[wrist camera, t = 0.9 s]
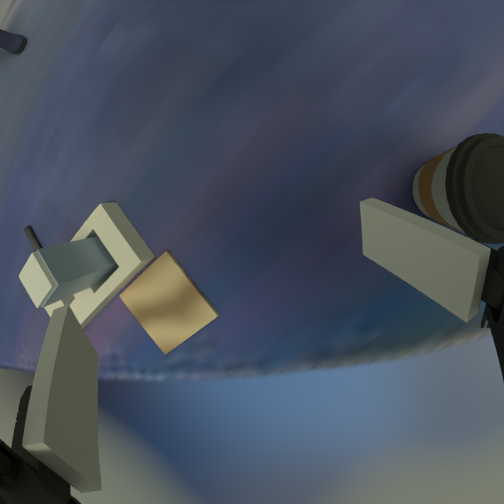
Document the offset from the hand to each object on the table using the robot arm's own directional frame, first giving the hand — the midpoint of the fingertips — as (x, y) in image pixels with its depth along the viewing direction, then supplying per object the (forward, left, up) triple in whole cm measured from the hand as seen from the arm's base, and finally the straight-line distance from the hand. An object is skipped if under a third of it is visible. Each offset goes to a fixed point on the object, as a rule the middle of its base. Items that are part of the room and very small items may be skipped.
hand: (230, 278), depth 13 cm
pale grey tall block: (-12, -21, -23) cm, 33 cm away
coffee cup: (+7, +16, -23) cm, 29 cm away
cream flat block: (-17, -25, -23) cm, 38 cm away
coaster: (-2, -18, -23) cm, 29 cm away
